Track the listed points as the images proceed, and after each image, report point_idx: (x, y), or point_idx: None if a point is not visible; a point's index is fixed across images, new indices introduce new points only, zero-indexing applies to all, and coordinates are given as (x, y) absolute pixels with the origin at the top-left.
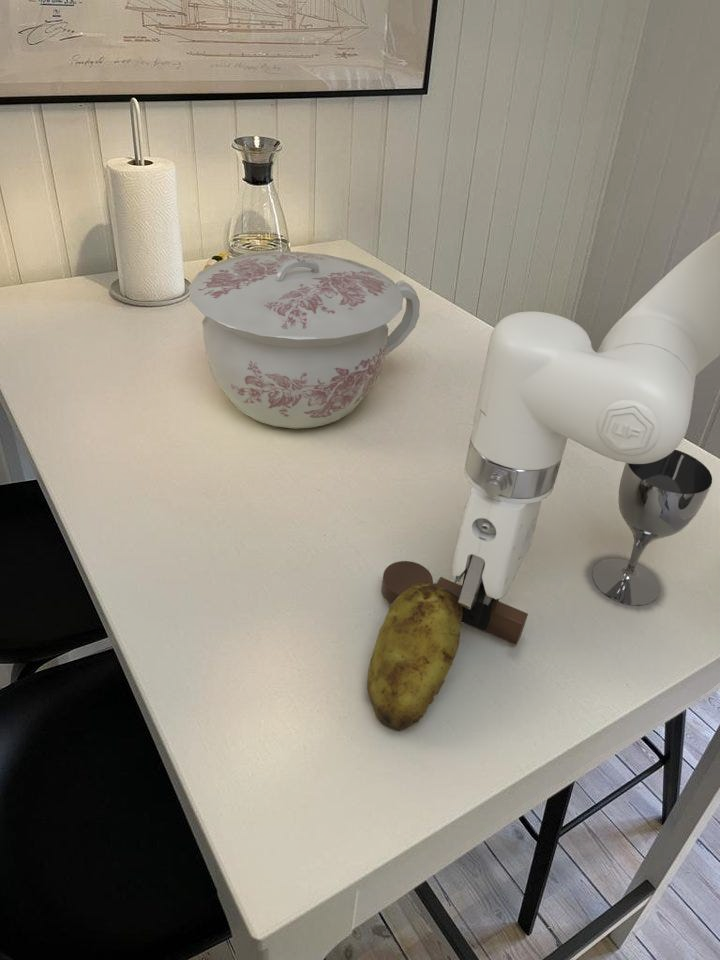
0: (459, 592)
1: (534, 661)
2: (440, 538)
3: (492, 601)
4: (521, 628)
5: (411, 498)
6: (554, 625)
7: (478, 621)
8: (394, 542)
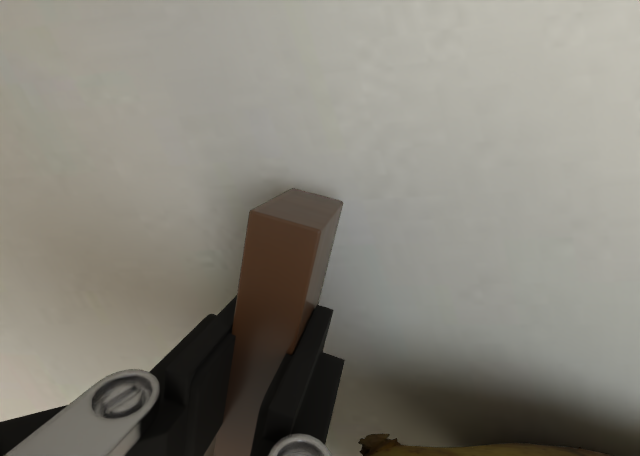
0: (249, 448)
1: (364, 129)
2: (72, 369)
3: (287, 421)
4: (327, 224)
5: (11, 415)
6: (199, 78)
7: (337, 368)
8: None
